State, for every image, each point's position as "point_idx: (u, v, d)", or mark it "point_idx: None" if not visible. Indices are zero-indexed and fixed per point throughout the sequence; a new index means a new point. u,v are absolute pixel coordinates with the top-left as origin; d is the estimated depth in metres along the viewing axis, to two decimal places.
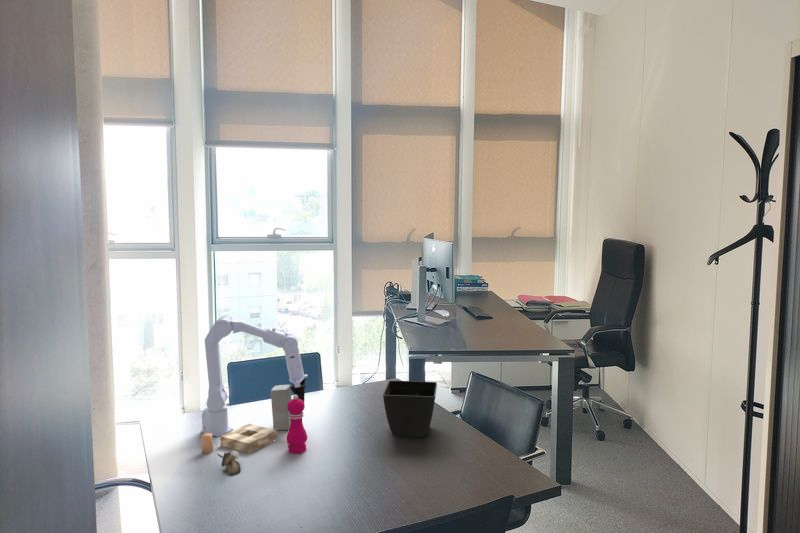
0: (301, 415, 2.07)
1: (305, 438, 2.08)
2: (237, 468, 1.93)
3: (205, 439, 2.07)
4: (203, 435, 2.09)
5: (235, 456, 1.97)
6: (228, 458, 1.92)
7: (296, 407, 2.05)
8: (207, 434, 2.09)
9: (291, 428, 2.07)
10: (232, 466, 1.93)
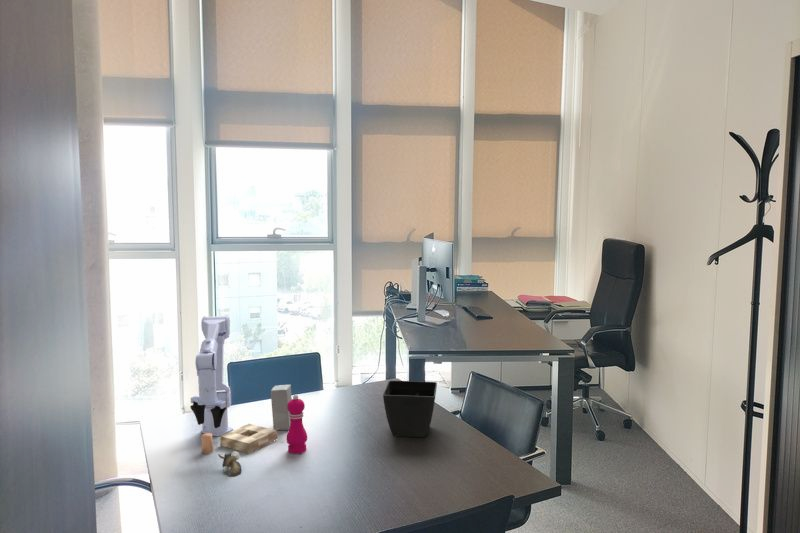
0: (301, 415, 2.07)
1: (305, 438, 2.08)
2: (238, 469, 1.92)
3: (205, 439, 2.07)
4: (203, 435, 2.09)
5: (236, 457, 1.97)
6: (229, 459, 1.92)
7: (296, 407, 2.05)
8: (207, 434, 2.09)
9: (291, 428, 2.07)
10: (233, 467, 1.92)
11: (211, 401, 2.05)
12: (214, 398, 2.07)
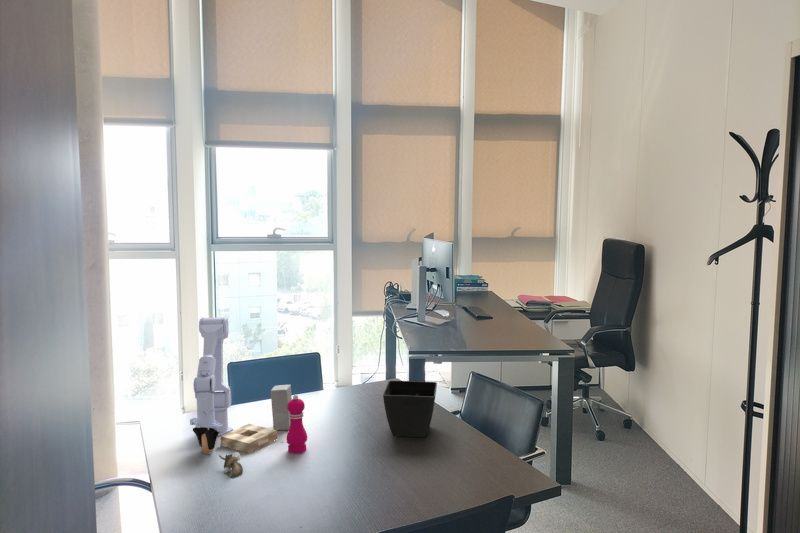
0: (301, 415, 2.07)
1: (305, 438, 2.08)
2: (239, 470, 1.92)
3: (205, 439, 2.07)
4: (203, 435, 2.09)
5: (237, 458, 1.96)
6: (230, 460, 1.91)
7: (296, 407, 2.05)
8: None
9: (291, 428, 2.07)
10: (234, 468, 1.91)
11: (209, 424, 2.06)
12: (212, 421, 2.07)
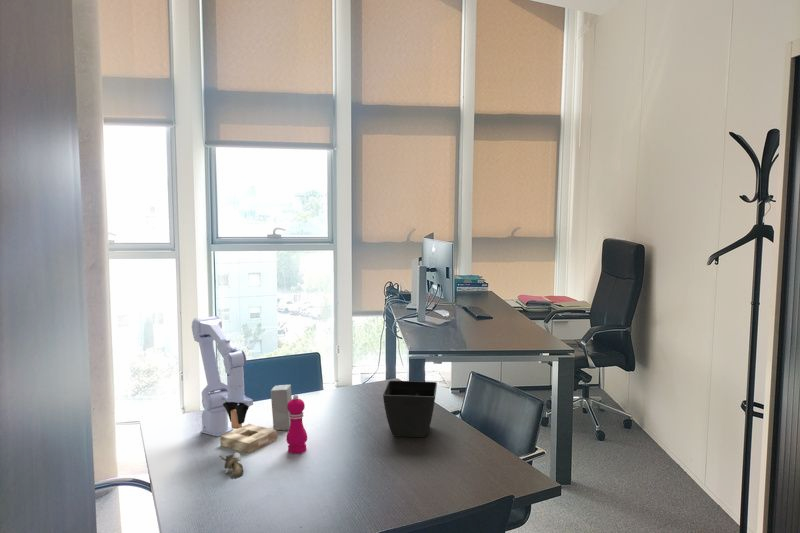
0: (301, 415, 2.07)
1: (305, 438, 2.08)
2: (240, 470, 1.91)
3: (233, 415, 2.12)
4: (232, 411, 2.13)
5: (237, 458, 1.95)
6: (231, 460, 1.91)
7: (296, 407, 2.05)
8: None
9: (291, 428, 2.07)
10: (235, 468, 1.91)
11: (239, 398, 2.11)
12: (242, 396, 2.12)
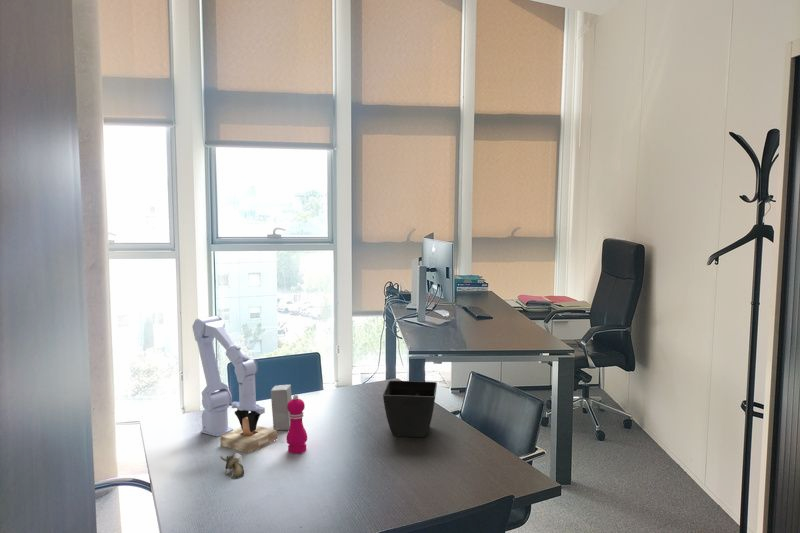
0: (301, 415, 2.07)
1: (305, 438, 2.08)
2: (241, 471, 1.91)
3: (245, 423, 2.14)
4: (244, 419, 2.16)
5: (238, 459, 1.95)
6: (232, 461, 1.90)
7: (296, 407, 2.05)
8: None
9: (291, 428, 2.07)
10: (236, 469, 1.90)
11: (251, 407, 2.14)
12: (253, 404, 2.15)
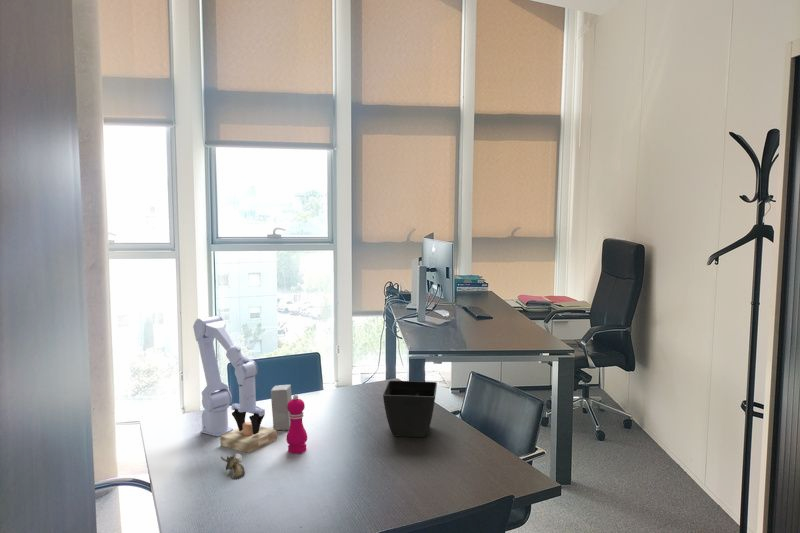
0: (301, 415, 2.07)
1: (305, 438, 2.08)
2: (241, 471, 1.90)
3: (245, 428, 2.15)
4: (244, 424, 2.16)
5: (239, 459, 1.95)
6: (232, 461, 1.90)
7: (296, 407, 2.05)
8: (248, 423, 2.17)
9: (291, 428, 2.07)
10: (236, 469, 1.90)
11: (251, 408, 2.14)
12: (253, 406, 2.15)
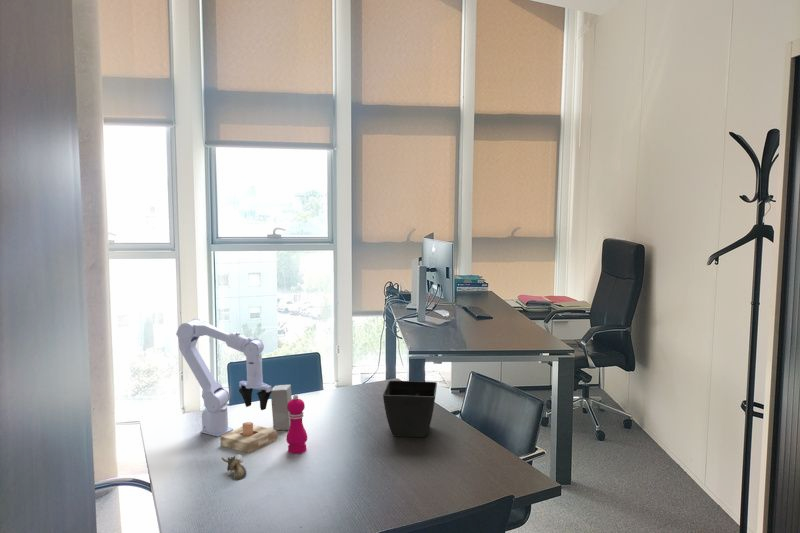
0: (301, 415, 2.07)
1: (305, 438, 2.08)
2: (243, 472, 1.90)
3: (245, 428, 2.15)
4: (244, 424, 2.16)
5: (240, 460, 1.94)
6: (233, 462, 1.89)
7: (296, 407, 2.05)
8: (248, 423, 2.17)
9: (291, 428, 2.07)
10: (237, 470, 1.89)
11: (258, 385, 2.22)
12: (260, 382, 2.23)
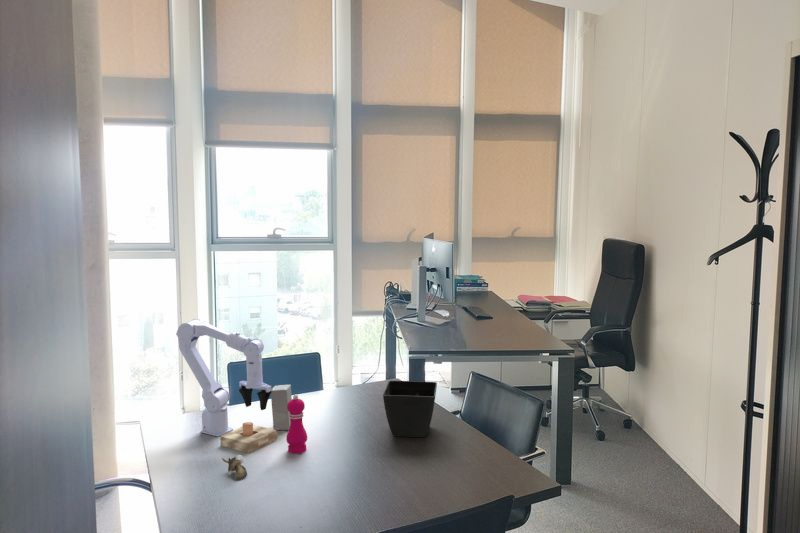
0: (301, 415, 2.07)
1: (305, 438, 2.08)
2: (243, 473, 1.89)
3: (245, 428, 2.15)
4: (244, 424, 2.16)
5: (240, 460, 1.94)
6: (234, 463, 1.89)
7: (296, 407, 2.05)
8: (248, 423, 2.17)
9: (291, 428, 2.07)
10: (238, 471, 1.89)
11: (258, 385, 2.22)
12: (260, 382, 2.23)
